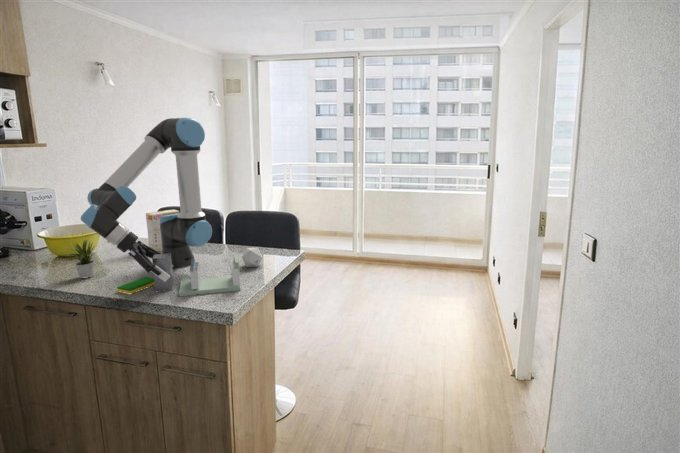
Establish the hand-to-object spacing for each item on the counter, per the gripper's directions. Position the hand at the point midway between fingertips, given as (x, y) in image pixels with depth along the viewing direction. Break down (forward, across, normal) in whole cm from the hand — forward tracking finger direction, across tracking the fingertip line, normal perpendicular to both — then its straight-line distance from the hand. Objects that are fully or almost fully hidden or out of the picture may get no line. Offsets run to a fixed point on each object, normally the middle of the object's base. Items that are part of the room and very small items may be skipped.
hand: (169, 273), depth 171 cm
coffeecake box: (-2, -65, -10) cm, 66 cm away
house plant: (-22, -26, -30) cm, 45 cm away
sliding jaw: (+10, +4, +4) cm, 11 cm away
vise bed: (+14, +4, +6) cm, 16 cm away
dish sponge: (-4, -4, -13) cm, 14 cm away
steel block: (+2, 0, -6) cm, 6 cm away
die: (+27, -20, +19) cm, 39 cm away
